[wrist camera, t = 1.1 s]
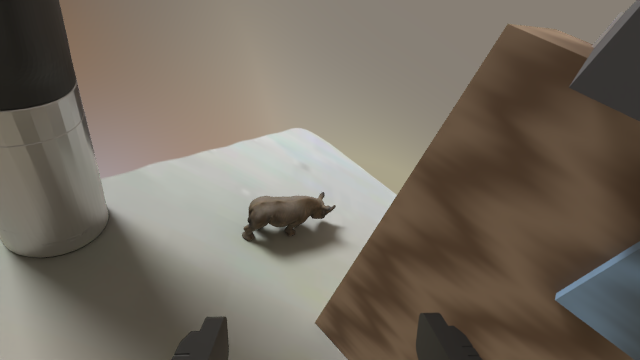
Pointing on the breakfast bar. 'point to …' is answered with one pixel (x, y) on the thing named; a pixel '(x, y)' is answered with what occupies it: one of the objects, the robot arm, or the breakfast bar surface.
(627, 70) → the dark gray rectangular panel
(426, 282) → the cabinet
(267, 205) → the rhino figurine
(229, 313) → the breakfast bar surface
